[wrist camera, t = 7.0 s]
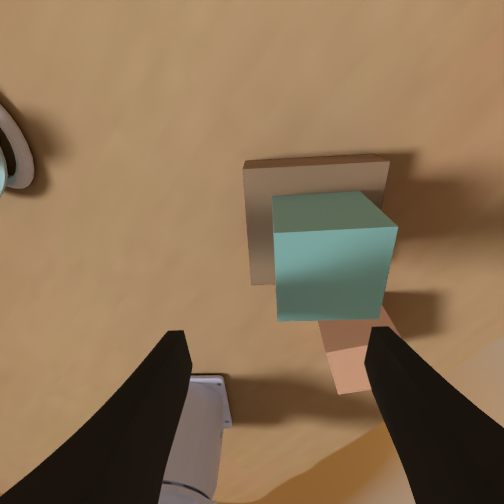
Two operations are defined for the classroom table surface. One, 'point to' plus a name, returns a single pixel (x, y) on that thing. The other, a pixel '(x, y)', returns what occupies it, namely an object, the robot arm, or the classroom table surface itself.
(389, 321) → the terracotta cube
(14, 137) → the pacifier
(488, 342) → the classroom table surface
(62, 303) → the classroom table surface
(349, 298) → the teal cube
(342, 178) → the walnut slab
